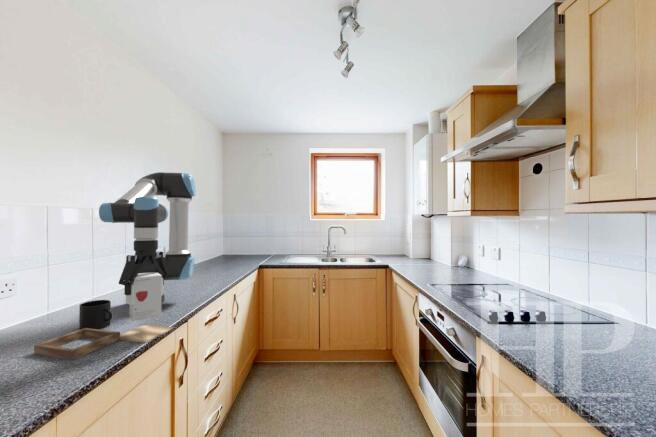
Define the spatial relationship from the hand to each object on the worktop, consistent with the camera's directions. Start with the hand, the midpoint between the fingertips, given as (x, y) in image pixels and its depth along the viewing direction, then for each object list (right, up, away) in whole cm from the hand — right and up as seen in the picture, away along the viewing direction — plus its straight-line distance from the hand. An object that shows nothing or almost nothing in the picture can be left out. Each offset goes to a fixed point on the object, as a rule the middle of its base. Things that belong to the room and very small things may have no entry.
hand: (145, 299), depth 109 cm
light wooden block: (0, -13, 0) cm, 13 cm away
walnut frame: (-15, -12, -10) cm, 22 cm away
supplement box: (0, -6, 0) cm, 6 cm away
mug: (-22, -13, +7) cm, 26 cm away
